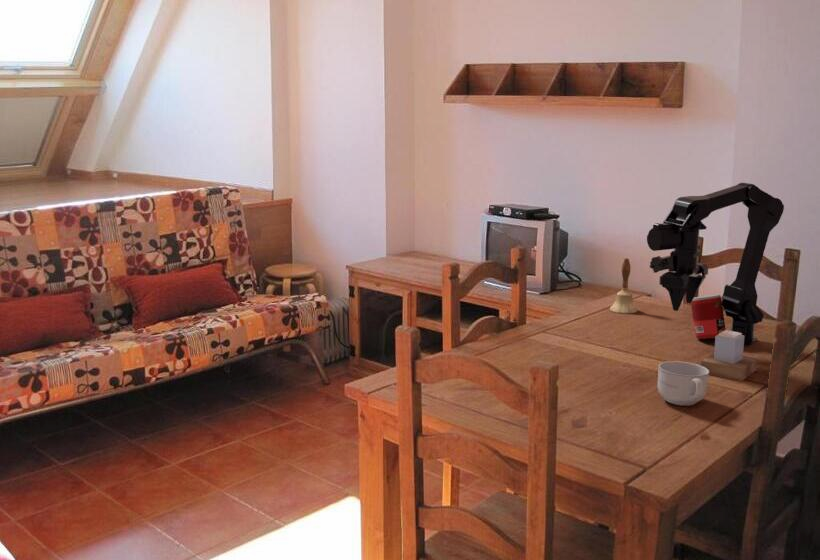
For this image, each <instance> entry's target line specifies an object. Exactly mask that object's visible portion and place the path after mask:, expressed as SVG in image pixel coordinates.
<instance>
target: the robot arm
mask: <svg viewBox="0 0 820 560" xmlns="http://www.w3.org/2000/svg"><path fill="white" fill-rule="evenodd" d="M739 203H742V204H743V206H745V207H747V209H748V210H747V220H748V224H749V230H748V234H747V238H746V241H745V245H744V248H743V252H742V255H741V259H740V263H739V266H738V270H737V273H736V278H735V280H734V281H732V283H731V284H730V285H729V284H725V286H724V289H723V294H722V296H721V301H722V307H723V310H724V314H725V316H726V317H729V318H731V329H730V331H734V332H739V333H742V335H744V346H745V345H746V346H751V345H753V344H754V343H755V342H757V341H758V338H757V337H754V335H755V334H754V333H755V324H758V323H762V322H763V318H764V316H765V314H764V312H762V310H761V309H760V308H759V307H758V305H757V302H758V292H757V288H756V282H757V278H758V275H759V270H760V268H761V263H762V260H763V257H764V254H765V253H764V252H765V250H766V246H767V242H768V239H769V236H770V233H771V232H772V231H773V229H774V228H775V227H776V226H777V225H778V224H779V222H780V221H781V217H783V216H782V215H783V213H784V210H785V205H784V203H783V201H782V200H781V199H780V198H778V197H774V196H773V195H771V194H769V193H768V192H766V191H764V190H762V189H761V188H759V187H758V186H757V185H755V184H754V183H748V182H740V183H737V184H736V185H733V186H730V187H727V188H724V189H720V190H717V191H714V192H711V193H708V194H704V195H687V196H680V197H678V198H677V199H675V202H674V203H673V206H672V207H671V209H670V210H669V212H668V214H667V215H666V217H665V218H664V220H663V223H659V222H656V223H655V222H654V223H653V225H652V228H651V229H650V230H649V231H648V233H647V235H646V243H647V245H648V247H649V249H650V250H651V251H654V252H659V251H666V250H672V251H671V252H669V253H670V254H669V255H666V256H663V257H661V256H660V255H658V256H653V257H651V259H650V262H649V263H650V264H649V268H650V269H652V271H653V274H655V273H656V274H657V273H658V272H661V271H665V270H668V271H667V272H665V273H662V275H660V276H659V284H658V285H660V286H661V287H662V288H665V290H667V291H668V295H669V298H670V302H671V306H672V310H673V311H675V312H678V311H679V309H680V307H681V304H682V302H683V300H684V297H685V301H686V303H687V304H691V302H692V300H693V298H695V297H696V295H697V293H698V291H699V289H700V287H701V286H702V284H703V283H704V281H705V279H706V278H707V277H706V276H707V275H709V266H708V265H707V263H704V262H698V257H699V256H701V250H699V240H700V239H699V237H700V231H702V230H707V228H708V227H707V226H706V225H705V224H704V223H703V222H702V221H703V220H706V219H707V218H708V217H709V216H710V214H712V213H713V212H715V211H718V210H721V209H724V208H727V207H730V206H733V205H737V204H739Z"/></svg>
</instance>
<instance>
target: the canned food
mask: <svg viewBox="0 0 820 560" xmlns="http://www.w3.org/2000/svg"><path fill="white" fill-rule="evenodd" d="M721 297H722V296H721V294H710V295H703V296H702V295H701V296H694V298H693V300H692V302H691V303H690V308H691V314H692V322H693V327H694V333H695V334H694V335H695V338H696V339H697V340H698V339H699V340H700V339H701V340H703V339H713V338H714V339H715V337H716V336H717V335H719V333H721V332H723V331H725V330H727V329H726V328H727V327H726V322H725V315H724V314H725V313H724V307H723V306H722V299H721Z"/></svg>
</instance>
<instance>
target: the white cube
mask: <svg viewBox="0 0 820 560" xmlns="http://www.w3.org/2000/svg"><path fill="white" fill-rule="evenodd" d="M714 339H715V340H714V352H713V353H714V360H718V361H722V362H727V363H731V364H735V363H736V362H738V361H740V360H742V359H743V356H744V346H745V345H744V335H742V333H739V332H734V331H731V330H728V329H726V330H725V331H723V332H721V333H719V335H717V336H716V337H715V338H714Z"/></svg>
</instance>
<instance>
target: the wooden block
mask: <svg viewBox="0 0 820 560" xmlns="http://www.w3.org/2000/svg"><path fill="white" fill-rule="evenodd" d="M700 366H703V367H705V368H707V369H708V370H709V375H711V376H715V377H720V378H724V379H729V380H732V381H733V380H734V381H737V380H738V382H742V380H743V381H744V380H745V379H747V378H748V377H749V376H751V375H752V374H753V373H754V372H753V371H755V370H756V371H757V366H758V358H757V357H751V356H746V355H743V359H742V360H740V361H738V362H736V363H735V364H731V363H727V362H722V361H718V360H714V352H713V353H711V354H709V355H707V356H706V357H704V358H703V359H701V361H700ZM752 372H753V373H752ZM751 373H752V374H751ZM750 374H751V375H750ZM748 375H749V376H748ZM747 376H748V377H747ZM746 377H747V378H746Z"/></svg>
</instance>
